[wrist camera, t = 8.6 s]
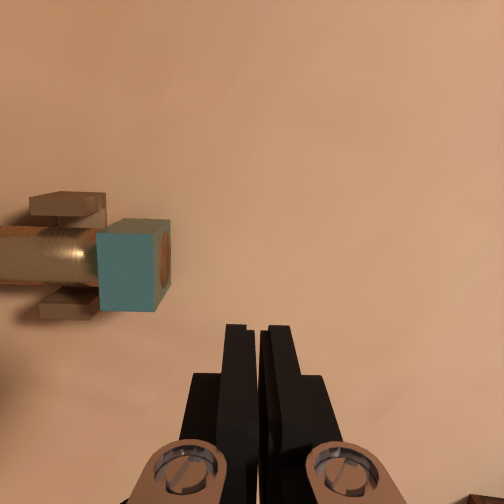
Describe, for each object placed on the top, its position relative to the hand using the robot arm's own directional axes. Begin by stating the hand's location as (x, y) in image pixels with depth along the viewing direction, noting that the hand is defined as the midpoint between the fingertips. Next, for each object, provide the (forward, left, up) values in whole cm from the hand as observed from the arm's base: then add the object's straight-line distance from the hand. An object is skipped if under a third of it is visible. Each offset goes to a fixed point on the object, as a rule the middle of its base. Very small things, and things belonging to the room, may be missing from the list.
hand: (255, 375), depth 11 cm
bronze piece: (+1, -15, -17) cm, 22 cm away
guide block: (+1, -11, -18) cm, 21 cm away
